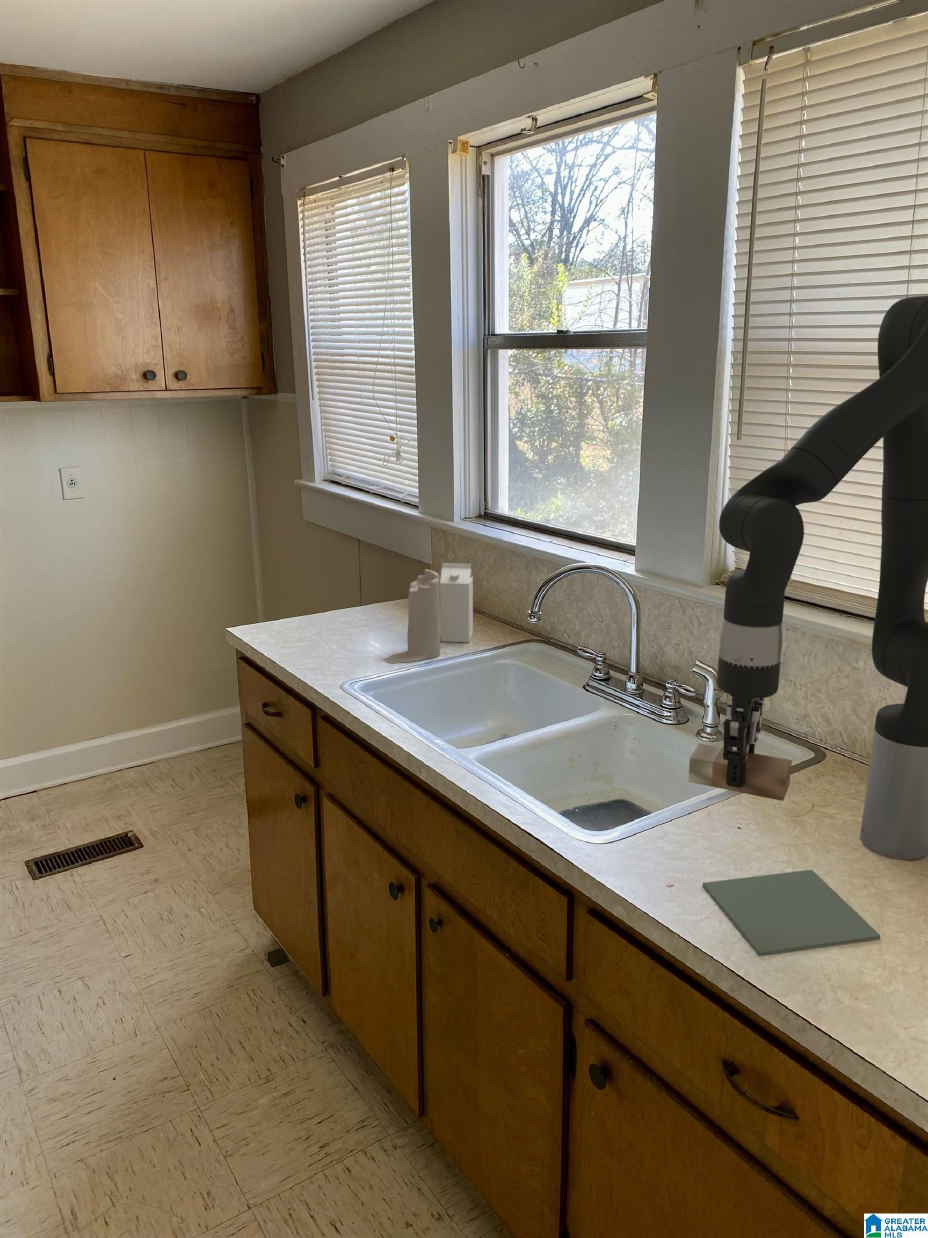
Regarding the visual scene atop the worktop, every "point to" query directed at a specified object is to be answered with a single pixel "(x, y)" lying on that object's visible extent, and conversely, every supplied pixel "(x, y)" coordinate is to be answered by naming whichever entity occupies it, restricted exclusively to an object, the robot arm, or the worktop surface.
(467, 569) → the milk carton
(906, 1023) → the worktop surface
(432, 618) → the candle
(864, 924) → the sage mat
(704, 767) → the stepped wooden block
